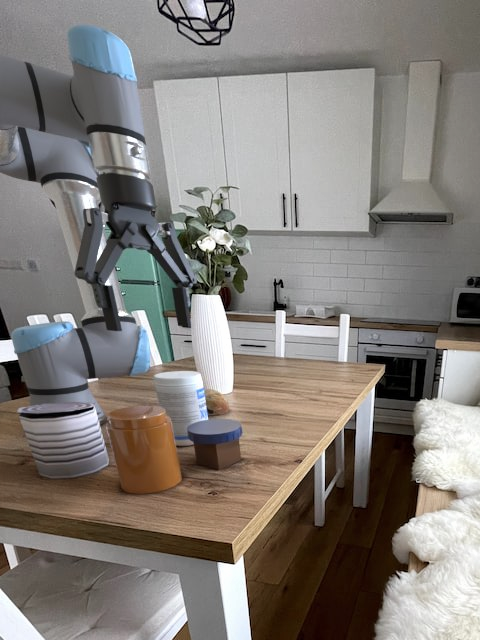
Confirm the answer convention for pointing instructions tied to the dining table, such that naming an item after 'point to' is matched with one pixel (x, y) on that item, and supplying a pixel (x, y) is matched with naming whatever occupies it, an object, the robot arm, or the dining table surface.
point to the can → (64, 438)
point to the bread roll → (215, 402)
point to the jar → (144, 449)
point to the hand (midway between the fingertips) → (152, 328)
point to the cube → (217, 454)
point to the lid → (214, 431)
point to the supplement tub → (181, 401)
